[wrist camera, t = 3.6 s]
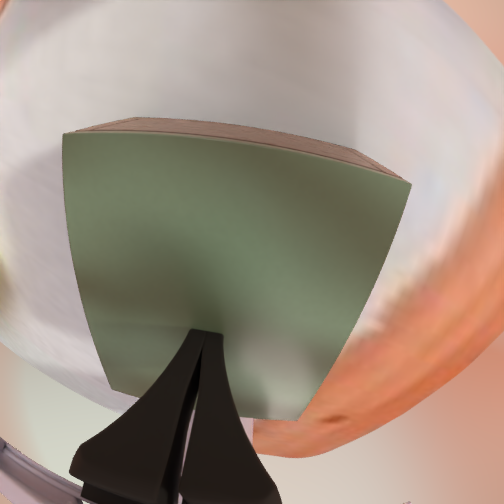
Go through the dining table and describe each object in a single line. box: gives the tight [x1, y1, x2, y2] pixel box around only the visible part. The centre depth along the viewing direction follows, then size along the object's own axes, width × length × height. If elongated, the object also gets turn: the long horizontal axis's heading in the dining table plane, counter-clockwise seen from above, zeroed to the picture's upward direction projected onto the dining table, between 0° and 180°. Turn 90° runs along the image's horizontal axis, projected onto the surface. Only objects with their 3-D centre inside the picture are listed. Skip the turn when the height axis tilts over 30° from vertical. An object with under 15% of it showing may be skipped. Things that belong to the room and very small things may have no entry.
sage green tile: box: [62, 131, 412, 421], centre depth 11 cm, size 14×12×1 cm
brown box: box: [75, 117, 403, 179], centre depth 13 cm, size 14×12×5 cm
